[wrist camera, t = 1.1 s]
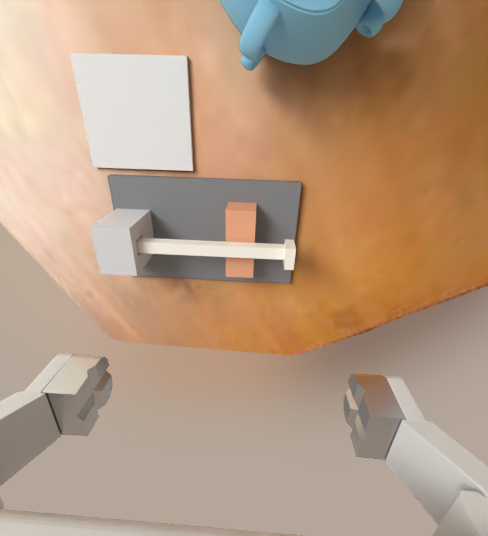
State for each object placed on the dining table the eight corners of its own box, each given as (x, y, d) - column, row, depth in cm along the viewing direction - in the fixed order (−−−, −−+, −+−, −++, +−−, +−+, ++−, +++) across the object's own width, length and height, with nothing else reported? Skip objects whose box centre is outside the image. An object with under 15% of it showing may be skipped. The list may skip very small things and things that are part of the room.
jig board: (110, 174, 42) (76, 188, 34) (300, 181, 41) (309, 197, 33) (128, 272, 49) (103, 302, 42) (289, 280, 49) (294, 312, 41)
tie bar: (115, 231, 40) (105, 240, 37) (293, 239, 39) (296, 248, 37) (119, 251, 42) (109, 261, 39) (291, 259, 41) (293, 270, 38)
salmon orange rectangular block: (228, 201, 42) (225, 210, 38) (256, 202, 42) (256, 211, 38) (228, 264, 47) (225, 276, 43) (253, 265, 46) (253, 277, 43)
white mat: (72, 53, 35) (69, 53, 35) (187, 56, 35) (186, 55, 34) (95, 166, 42) (93, 167, 41) (193, 170, 41) (192, 170, 41)
